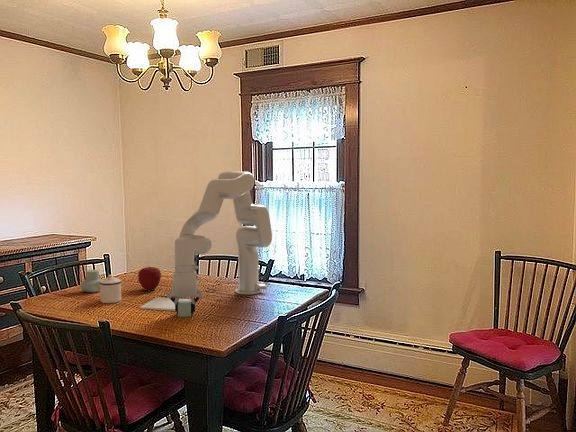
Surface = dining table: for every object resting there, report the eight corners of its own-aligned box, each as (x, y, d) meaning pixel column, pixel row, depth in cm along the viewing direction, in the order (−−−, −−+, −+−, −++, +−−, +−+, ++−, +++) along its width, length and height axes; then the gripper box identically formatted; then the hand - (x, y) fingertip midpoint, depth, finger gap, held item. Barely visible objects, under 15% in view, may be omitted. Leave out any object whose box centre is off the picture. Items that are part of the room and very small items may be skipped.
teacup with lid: (126, 300, 223) (125, 274, 222) (109, 304, 215) (109, 278, 214) (107, 296, 229) (107, 271, 228) (91, 301, 221) (90, 275, 220)
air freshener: (89, 294, 233) (88, 273, 232) (77, 292, 237) (76, 271, 236) (108, 290, 242) (107, 269, 241) (96, 288, 246) (95, 267, 245)
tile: (191, 301, 222) (191, 299, 222) (175, 310, 206) (175, 308, 206) (157, 299, 225) (157, 297, 225) (140, 308, 209) (140, 306, 209)
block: (192, 312, 204) (192, 300, 203) (190, 316, 199) (190, 304, 198) (180, 312, 203) (179, 300, 203) (178, 316, 198) (177, 304, 198)
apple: (164, 290, 242) (164, 266, 240) (142, 293, 236) (142, 268, 234) (156, 285, 251) (156, 262, 250) (135, 288, 245) (134, 265, 244)
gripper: (207, 266, 204) (207, 310, 205) (164, 267, 203) (165, 310, 204) (205, 270, 196) (205, 315, 198) (161, 270, 195) (162, 316, 197)
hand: (185, 312), depth 201 cm, fingers closed on block, 5 cm apart
